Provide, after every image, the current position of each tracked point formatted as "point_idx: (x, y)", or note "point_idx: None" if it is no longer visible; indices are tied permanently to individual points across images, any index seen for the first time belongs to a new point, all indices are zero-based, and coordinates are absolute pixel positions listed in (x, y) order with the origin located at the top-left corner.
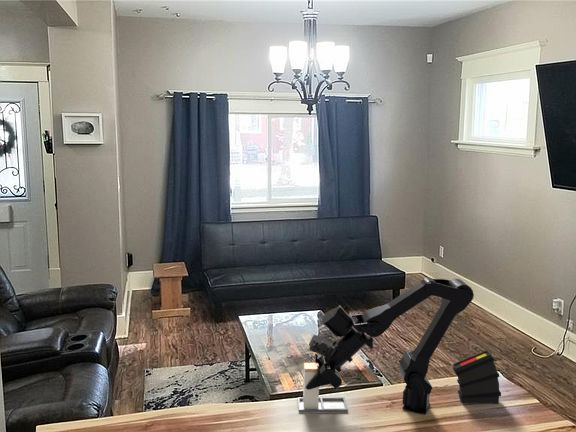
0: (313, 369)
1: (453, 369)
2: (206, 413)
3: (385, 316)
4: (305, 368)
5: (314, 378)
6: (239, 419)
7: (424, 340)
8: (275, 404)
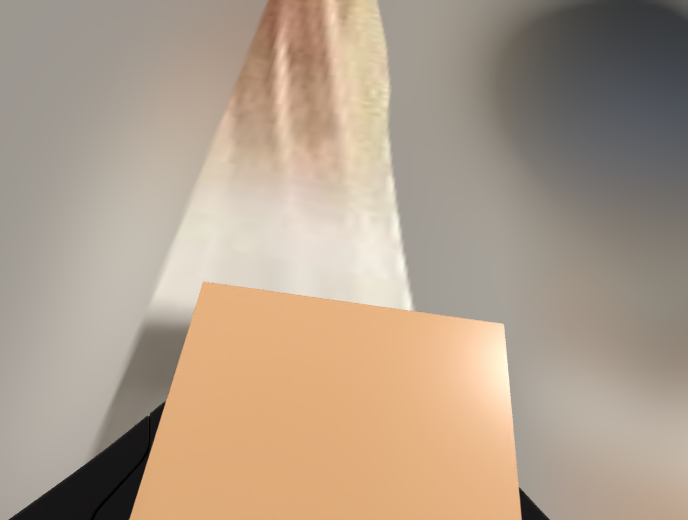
0: (138, 518)
1: None
2: (337, 39)
3: None
4: (227, 302)
5: (104, 451)
6: (283, 103)
7: None
8: (369, 227)
